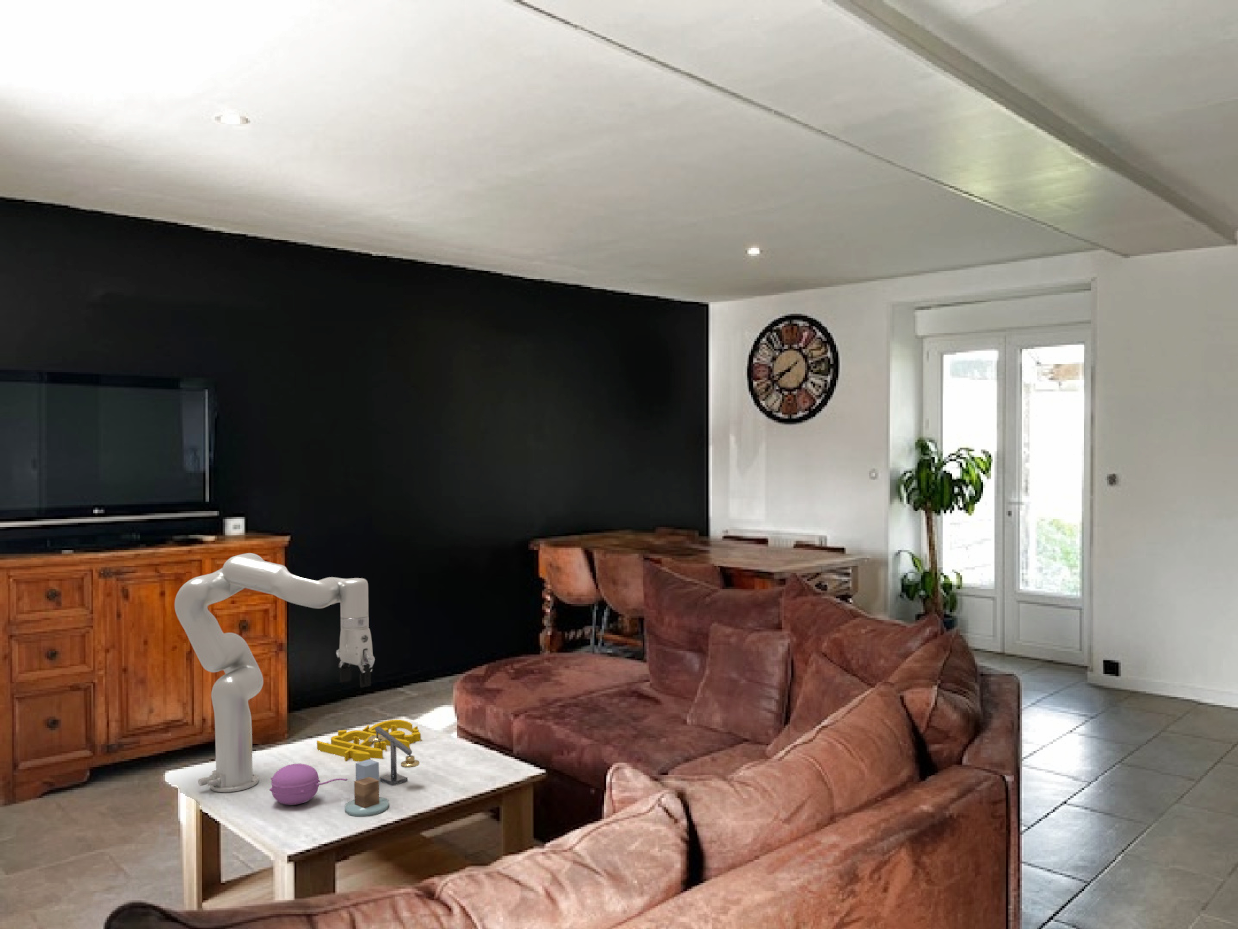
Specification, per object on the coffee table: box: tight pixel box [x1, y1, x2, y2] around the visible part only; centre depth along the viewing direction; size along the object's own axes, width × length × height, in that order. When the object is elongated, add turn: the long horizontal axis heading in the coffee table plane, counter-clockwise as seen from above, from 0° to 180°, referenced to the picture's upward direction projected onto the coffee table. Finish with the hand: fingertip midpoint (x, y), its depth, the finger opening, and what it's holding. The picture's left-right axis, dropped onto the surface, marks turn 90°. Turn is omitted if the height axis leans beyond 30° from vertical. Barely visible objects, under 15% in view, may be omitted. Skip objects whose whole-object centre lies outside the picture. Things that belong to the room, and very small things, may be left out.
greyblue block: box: [355, 759, 380, 781], centre depth 262 cm, size 4×4×6 cm
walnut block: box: [353, 777, 380, 808], centre depth 243 cm, size 4×4×6 cm
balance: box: [368, 726, 420, 787], centre depth 263 cm, size 5×20×14 cm, turn 49°
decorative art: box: [316, 719, 422, 762], centre depth 300 cm, size 34×3×30 cm
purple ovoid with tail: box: [269, 763, 348, 806], centre depth 247 cm, size 12×19×10 cm, turn 77°
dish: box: [344, 796, 390, 817], centre depth 243 cm, size 11×11×1 cm
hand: (355, 684), depth 261 cm, fingers open, 9 cm apart
